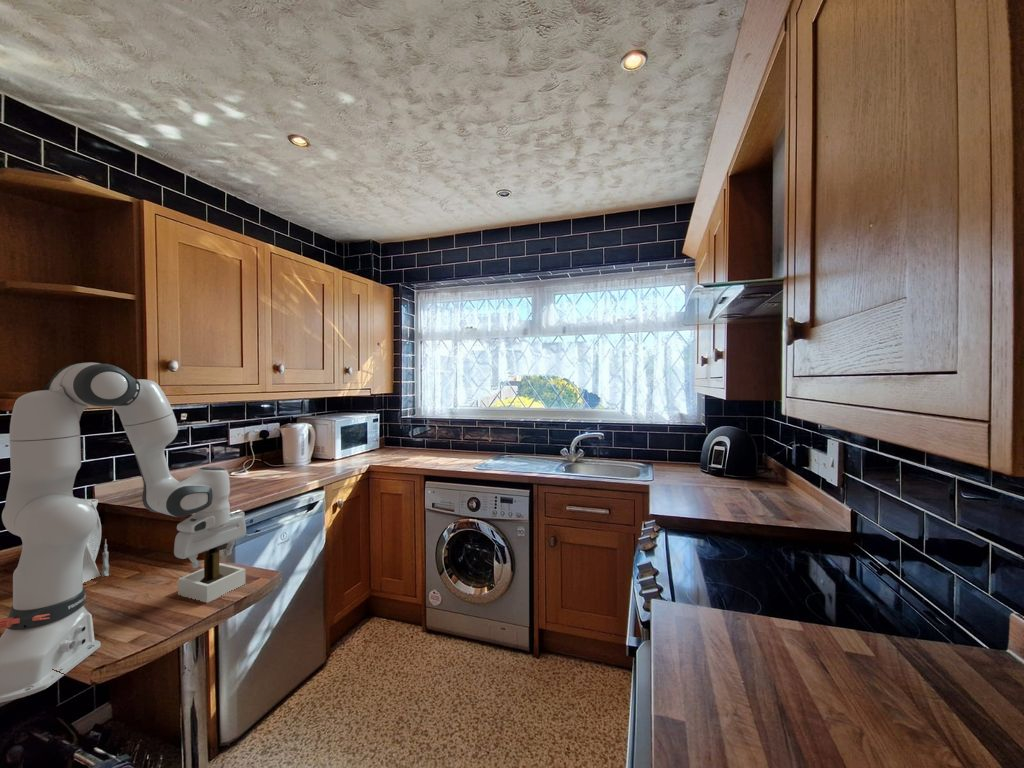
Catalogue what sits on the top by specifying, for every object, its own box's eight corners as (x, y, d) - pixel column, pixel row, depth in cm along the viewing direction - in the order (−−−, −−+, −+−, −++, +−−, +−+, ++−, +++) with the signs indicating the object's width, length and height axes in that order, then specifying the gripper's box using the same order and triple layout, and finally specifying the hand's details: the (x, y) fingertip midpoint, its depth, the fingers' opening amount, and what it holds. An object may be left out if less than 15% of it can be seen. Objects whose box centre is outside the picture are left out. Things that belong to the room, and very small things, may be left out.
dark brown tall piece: (203, 583, 131) (203, 527, 130) (226, 580, 133) (227, 525, 133) (195, 593, 124) (195, 535, 124) (220, 589, 127) (221, 532, 127)
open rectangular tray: (207, 603, 121) (207, 586, 121) (178, 594, 125) (178, 578, 125) (245, 584, 132) (245, 568, 132) (217, 577, 137) (217, 562, 137)
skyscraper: (80, 588, 129) (80, 500, 129) (60, 585, 131) (60, 499, 130) (110, 575, 138) (111, 493, 137) (91, 573, 139) (91, 492, 139)
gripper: (237, 507, 140) (237, 547, 140) (170, 526, 120) (170, 573, 120) (250, 509, 137) (250, 549, 138) (184, 529, 118) (184, 577, 118)
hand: (212, 561), depth 129 cm, fingers open, 8 cm apart
